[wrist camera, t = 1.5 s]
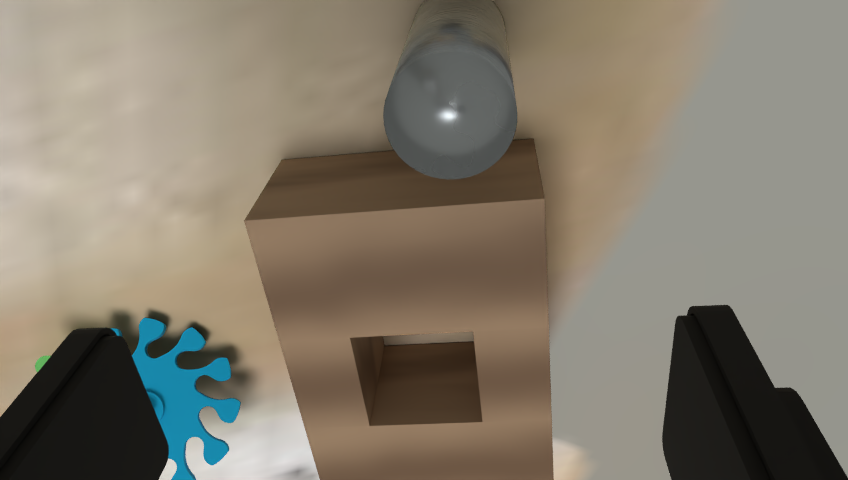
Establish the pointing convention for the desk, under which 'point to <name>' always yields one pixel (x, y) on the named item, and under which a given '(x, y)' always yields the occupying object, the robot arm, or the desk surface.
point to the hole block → (412, 314)
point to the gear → (180, 394)
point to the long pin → (452, 91)
